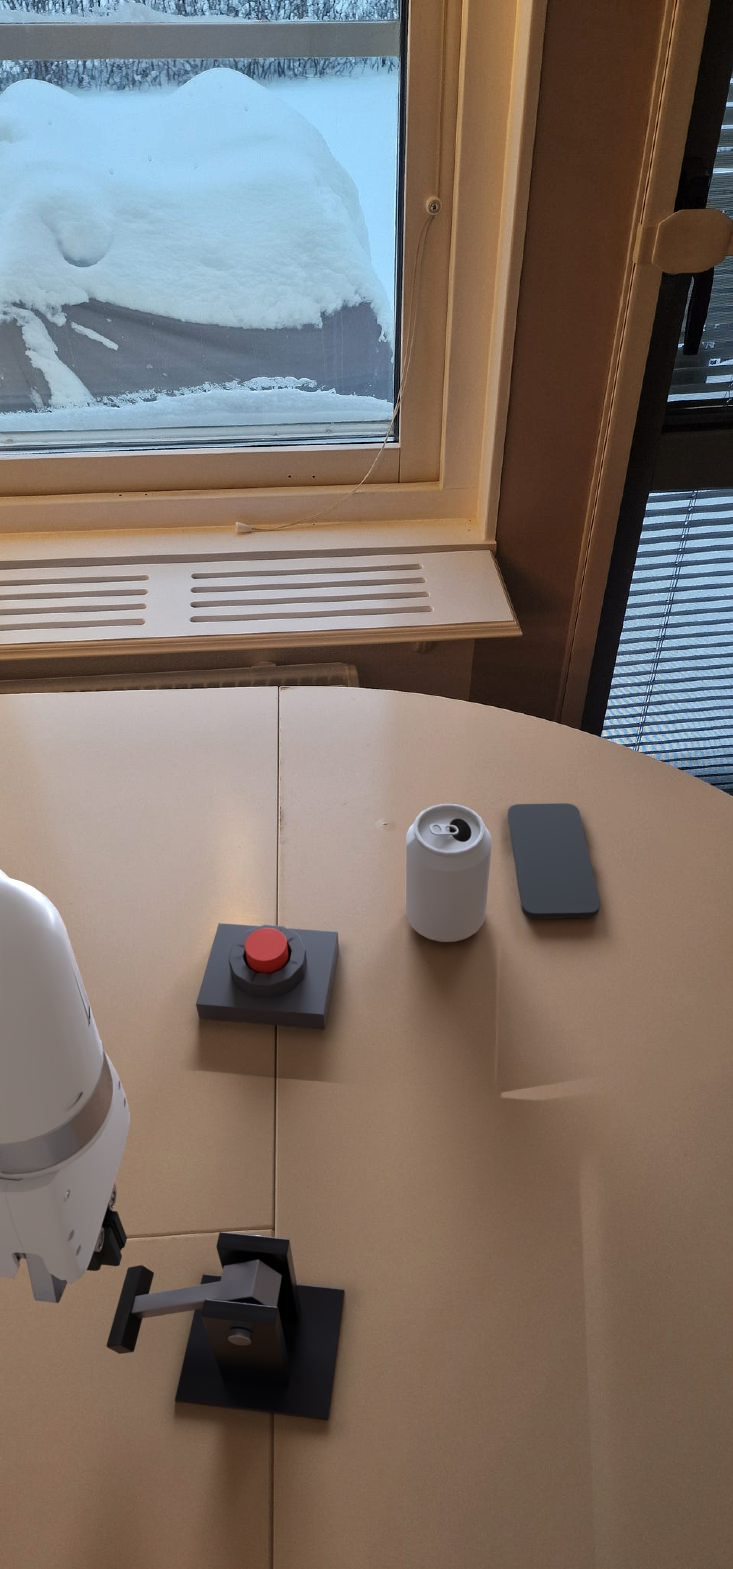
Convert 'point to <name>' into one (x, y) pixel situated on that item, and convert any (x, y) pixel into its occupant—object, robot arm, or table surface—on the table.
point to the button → (266, 950)
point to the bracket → (264, 1341)
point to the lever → (187, 1297)
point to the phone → (552, 861)
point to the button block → (269, 979)
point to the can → (447, 872)
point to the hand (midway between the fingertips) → (98, 1250)
